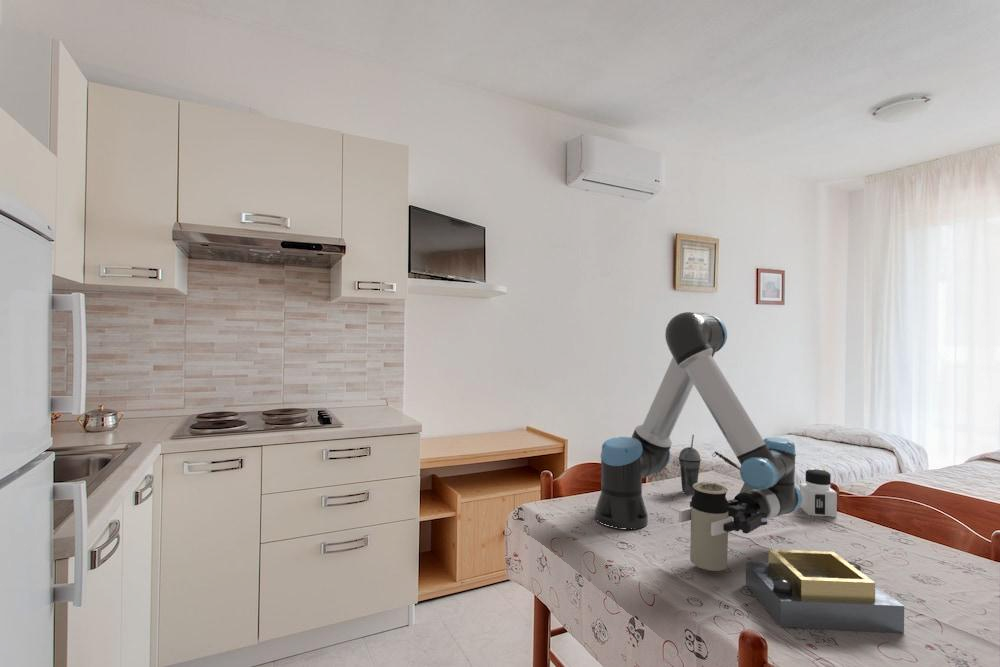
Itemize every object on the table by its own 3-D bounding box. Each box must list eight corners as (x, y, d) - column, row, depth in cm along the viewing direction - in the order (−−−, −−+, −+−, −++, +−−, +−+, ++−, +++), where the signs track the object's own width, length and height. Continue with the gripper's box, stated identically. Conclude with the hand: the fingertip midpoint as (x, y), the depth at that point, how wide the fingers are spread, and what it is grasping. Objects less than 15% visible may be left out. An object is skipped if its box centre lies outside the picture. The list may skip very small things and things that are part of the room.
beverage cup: (674, 489, 177) (675, 432, 177) (694, 489, 178) (695, 432, 178) (683, 496, 170) (684, 437, 170) (704, 495, 171) (705, 436, 171)
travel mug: (734, 566, 116) (735, 488, 116) (714, 575, 111) (715, 494, 111) (703, 553, 123) (704, 479, 122) (683, 561, 118) (684, 485, 118)
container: (837, 517, 151) (837, 474, 151) (808, 515, 153) (809, 473, 153) (826, 509, 159) (826, 467, 159) (799, 507, 160) (799, 466, 160)
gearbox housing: (780, 627, 95) (781, 582, 95) (745, 584, 111) (745, 546, 111) (904, 633, 93) (904, 587, 93) (850, 588, 109) (850, 549, 109)
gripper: (797, 535, 117) (737, 557, 106) (718, 507, 135) (659, 523, 123) (798, 503, 117) (738, 521, 105) (719, 479, 135) (660, 492, 123)
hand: (695, 522), depth 114 cm, fingers closed on travel mug, 8 cm apart
